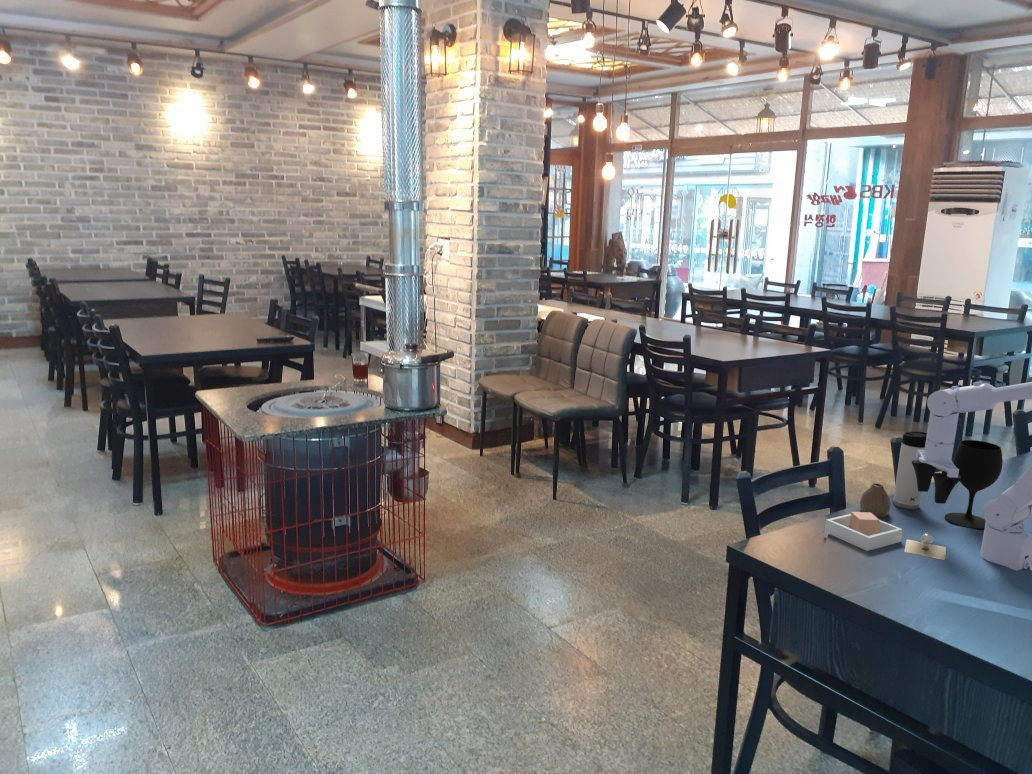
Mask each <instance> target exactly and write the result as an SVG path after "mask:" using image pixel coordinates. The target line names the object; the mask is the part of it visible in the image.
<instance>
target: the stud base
mask: <svg viewBox="0 0 1032 774" xmlns="http://www.w3.org/2000/svg"><path fill="white" fill-rule="evenodd" d="M920 540H921V541H919V540H918V541H916V540H913V539H906V540H905V547H904V553H908V554H913V555H917V556H922V557H926V558H927V557H928V558H933V559H938V560H942V561H946V552H947V547H946V546H942V545H937V544H932V543H933V542H934V538H933V536H932V534H930V533H923V534H922V535H921V536H920Z"/></svg>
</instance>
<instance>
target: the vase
mask: <svg viewBox="0 0 1032 774" xmlns="http://www.w3.org/2000/svg"><path fill="white" fill-rule="evenodd" d="M859 509H860V512H871V513H872V514H873V515H874V516H875V517H877V518H885V517H887V516H888V514H889V513H890V511H891V499H890V495H888V492H887V491H886V490H885V487H884V485H883V484H881V483H876V482H875V483H872V484H871V485H870V487H869V488H868V489H866V490H865V491H864V492H863V493H862V496H861V497H860V502H859Z"/></svg>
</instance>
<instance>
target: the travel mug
mask: <svg viewBox="0 0 1032 774" xmlns="http://www.w3.org/2000/svg"><path fill="white" fill-rule="evenodd" d="M926 437H927V432H924V431H906V432H904V433H903V434H902V440H901V445H900V449H899V450H900V451H899V458H898V464H897V465H898V466H897V472H896V478H895V485H894V493H893V500H892V503H893V505H894V506H896V507H898V508H900V509H905V510H917V509H919V508H920V506H921V505H920V504H921V498H922V494H923V492H921V491H918V487H917V479H916V473H915V470H914V467H913V465H912V461H913V460H918V458H916V453H917V450H925V444H926Z"/></svg>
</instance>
